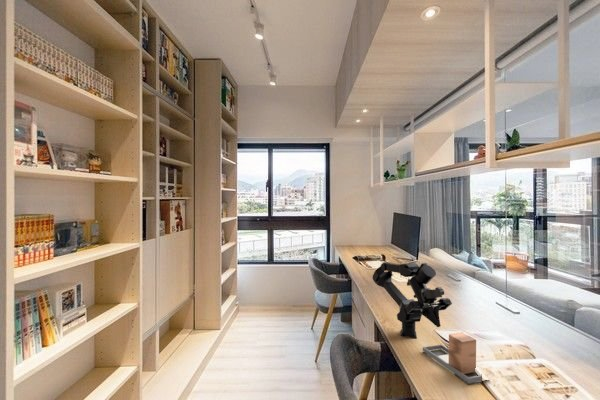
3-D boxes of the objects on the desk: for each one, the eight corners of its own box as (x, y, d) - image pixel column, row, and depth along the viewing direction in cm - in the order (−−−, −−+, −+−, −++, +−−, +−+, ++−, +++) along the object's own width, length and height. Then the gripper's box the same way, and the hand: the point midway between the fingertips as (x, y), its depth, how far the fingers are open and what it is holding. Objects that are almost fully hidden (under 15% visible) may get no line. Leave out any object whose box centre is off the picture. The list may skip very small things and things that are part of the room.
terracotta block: (448, 365, 108) (448, 334, 108) (462, 362, 110) (462, 332, 110) (461, 374, 102) (462, 341, 102) (475, 371, 104) (476, 339, 104)
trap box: (422, 352, 119) (422, 347, 119) (441, 349, 122) (441, 344, 122) (468, 384, 98) (468, 378, 98) (489, 380, 100) (490, 374, 100)
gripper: (410, 281, 119) (429, 320, 109) (448, 278, 125) (470, 315, 114) (398, 295, 127) (414, 332, 116) (435, 291, 132) (454, 327, 121)
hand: (439, 326), depth 117 cm, fingers closed
